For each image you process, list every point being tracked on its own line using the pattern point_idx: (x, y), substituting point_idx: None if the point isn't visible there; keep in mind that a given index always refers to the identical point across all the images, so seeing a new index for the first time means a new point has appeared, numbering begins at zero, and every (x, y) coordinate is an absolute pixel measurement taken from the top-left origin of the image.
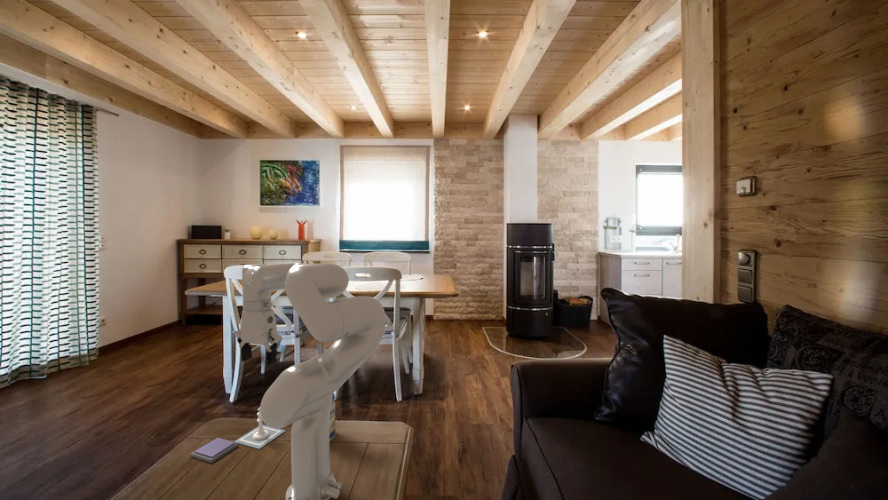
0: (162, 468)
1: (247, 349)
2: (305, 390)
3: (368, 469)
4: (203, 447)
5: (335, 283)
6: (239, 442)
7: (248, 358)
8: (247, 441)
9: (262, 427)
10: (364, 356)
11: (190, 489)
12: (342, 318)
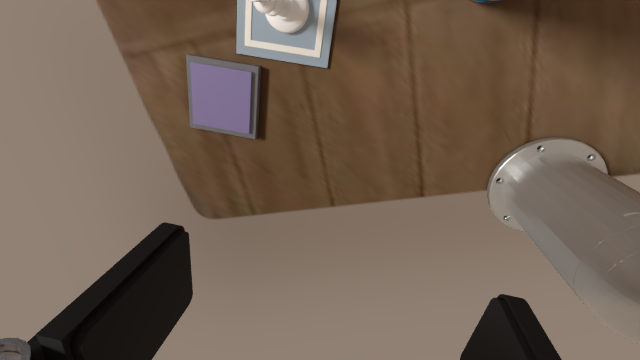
0: (181, 165)
1: (117, 358)
2: None
3: None
4: (197, 106)
5: None
6: (254, 54)
7: (186, 263)
8: (272, 46)
9: (286, 4)
10: None
11: (287, 205)
12: None
